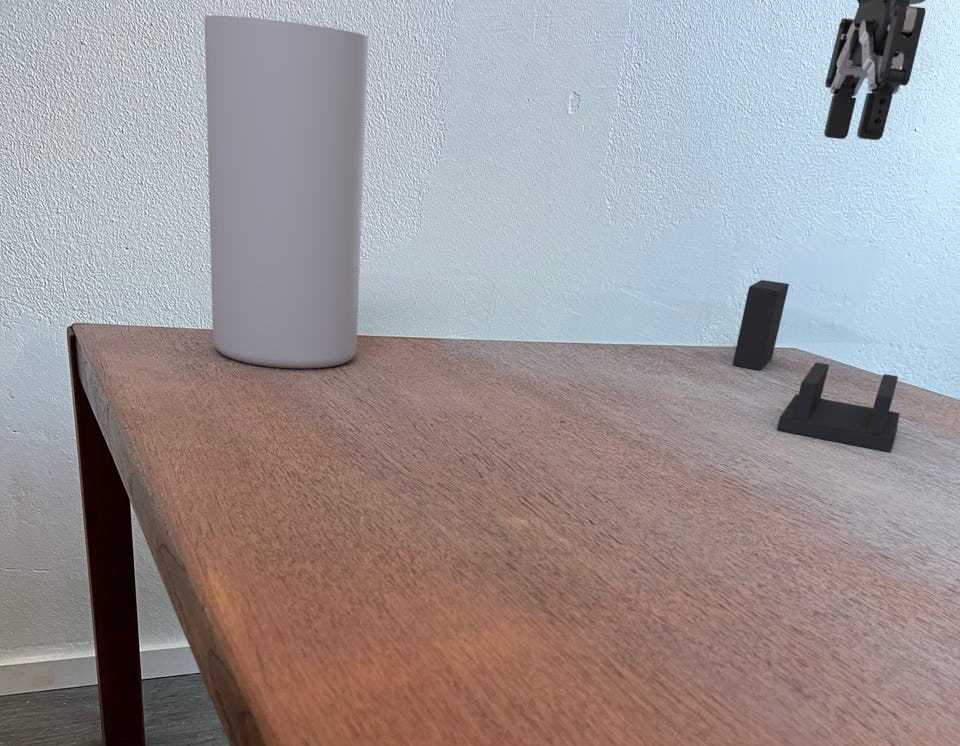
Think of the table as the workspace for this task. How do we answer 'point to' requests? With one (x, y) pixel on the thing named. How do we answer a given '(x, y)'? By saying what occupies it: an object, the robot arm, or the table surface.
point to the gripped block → (760, 324)
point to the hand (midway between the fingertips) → (850, 138)
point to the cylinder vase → (285, 189)
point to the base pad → (841, 414)
